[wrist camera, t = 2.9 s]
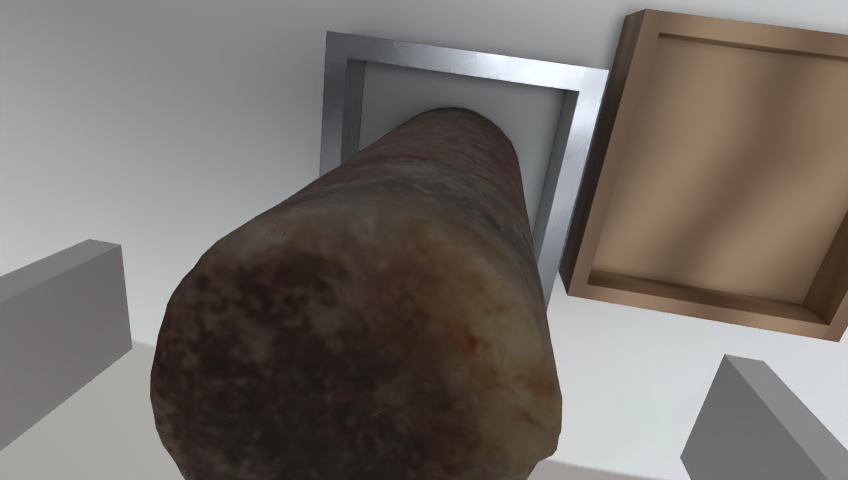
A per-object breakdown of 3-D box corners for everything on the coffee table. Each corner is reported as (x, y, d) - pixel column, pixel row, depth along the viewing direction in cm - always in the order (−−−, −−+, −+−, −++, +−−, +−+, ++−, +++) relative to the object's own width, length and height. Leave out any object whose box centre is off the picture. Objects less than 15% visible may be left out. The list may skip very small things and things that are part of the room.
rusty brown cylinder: (356, 172, 27) (59, 419, 8) (444, 71, 24) (305, 93, 6) (453, 259, 28) (387, 652, 9) (546, 172, 25) (713, 468, 7)
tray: (559, 271, 27) (567, 295, 24) (625, 15, 22) (645, 8, 20) (801, 312, 26) (838, 342, 24) (927, 55, 21) (993, 53, 19)
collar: (333, 255, 29) (314, 279, 25) (348, 35, 24) (326, 31, 21) (537, 290, 28) (544, 320, 25) (591, 69, 23) (609, 70, 20)
